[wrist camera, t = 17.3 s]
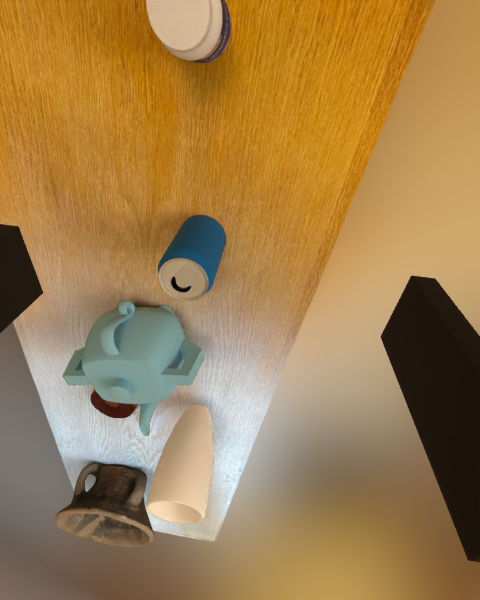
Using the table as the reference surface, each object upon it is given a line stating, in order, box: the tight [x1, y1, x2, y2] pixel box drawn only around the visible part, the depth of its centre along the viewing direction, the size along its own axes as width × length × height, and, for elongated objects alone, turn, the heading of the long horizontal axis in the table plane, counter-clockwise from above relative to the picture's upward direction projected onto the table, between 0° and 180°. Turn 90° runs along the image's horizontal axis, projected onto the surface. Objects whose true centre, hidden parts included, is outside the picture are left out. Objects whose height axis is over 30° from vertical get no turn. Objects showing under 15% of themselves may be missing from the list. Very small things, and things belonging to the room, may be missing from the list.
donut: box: [91, 389, 137, 418], centre depth 67 cm, size 10×10×4 cm
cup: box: [146, 405, 214, 524], centre depth 58 cm, size 10×10×22 cm
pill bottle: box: [146, 0, 231, 63], centre depth 26 cm, size 6×6×10 cm
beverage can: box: [158, 215, 226, 301], centre depth 38 cm, size 6×6×12 cm
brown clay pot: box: [56, 463, 154, 547], centre depth 88 cm, size 27×26×15 cm
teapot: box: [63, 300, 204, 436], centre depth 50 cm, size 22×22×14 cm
